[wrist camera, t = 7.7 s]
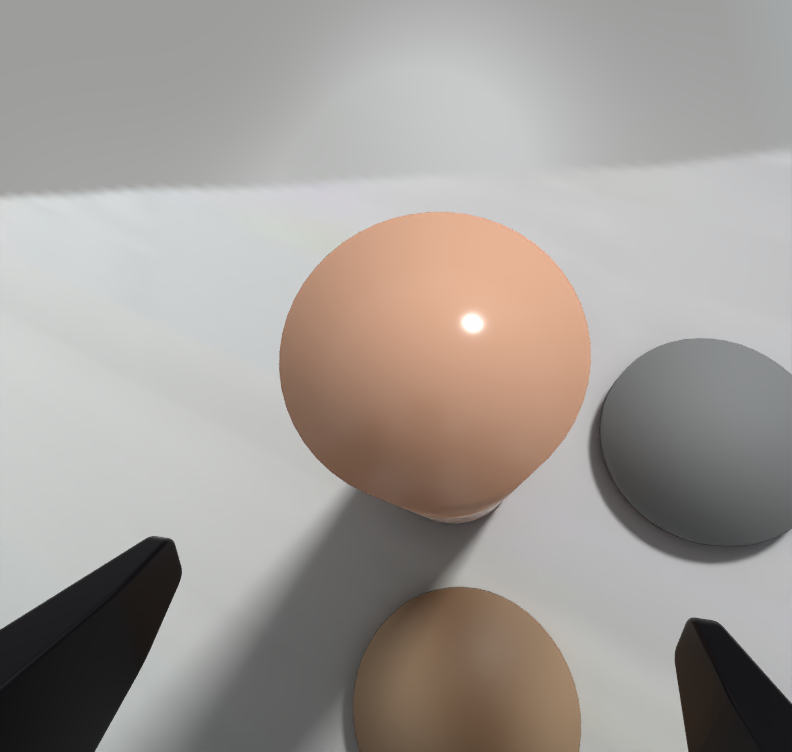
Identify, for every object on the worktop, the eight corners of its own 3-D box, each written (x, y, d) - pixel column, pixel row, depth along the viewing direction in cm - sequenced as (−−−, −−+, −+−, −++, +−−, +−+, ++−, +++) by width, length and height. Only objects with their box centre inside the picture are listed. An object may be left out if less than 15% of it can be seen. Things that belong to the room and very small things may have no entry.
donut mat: (403, 873, 17) (401, 885, 17) (327, 633, 20) (323, 636, 19) (619, 784, 17) (624, 793, 17) (517, 554, 20) (518, 555, 19)
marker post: (417, 544, 20) (338, 559, 8) (371, 425, 22) (243, 280, 9) (539, 493, 20) (653, 428, 8) (483, 377, 22) (505, 169, 9)
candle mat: (664, 579, 19) (671, 580, 18) (564, 388, 21) (567, 384, 20) (865, 496, 19) (877, 495, 18) (742, 314, 21) (749, 308, 20)
